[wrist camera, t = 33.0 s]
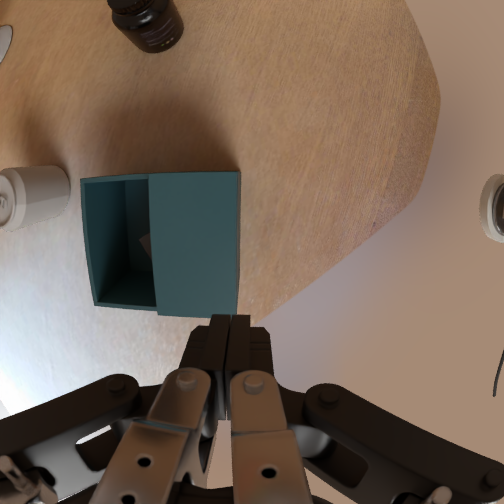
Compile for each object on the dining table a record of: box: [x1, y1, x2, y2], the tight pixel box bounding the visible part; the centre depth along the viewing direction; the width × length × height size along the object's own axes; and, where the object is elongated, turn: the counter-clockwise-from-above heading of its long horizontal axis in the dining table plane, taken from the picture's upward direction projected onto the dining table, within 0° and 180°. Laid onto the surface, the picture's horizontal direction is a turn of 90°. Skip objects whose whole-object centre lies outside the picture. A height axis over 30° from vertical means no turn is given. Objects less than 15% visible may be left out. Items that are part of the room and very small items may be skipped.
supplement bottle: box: [107, 0, 184, 53], centre depth 22 cm, size 7×7×12 cm
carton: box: [80, 171, 241, 314], centre depth 30 cm, size 15×13×10 cm
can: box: [0, 165, 70, 232], centre depth 27 cm, size 8×8×12 cm
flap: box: [148, 172, 237, 318], centre depth 24 cm, size 7×13×1 cm, turn 179°
